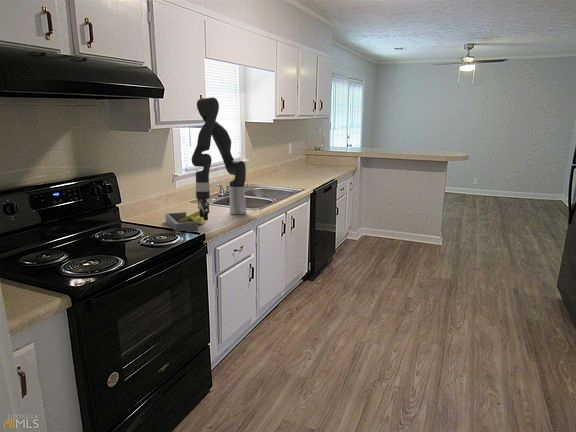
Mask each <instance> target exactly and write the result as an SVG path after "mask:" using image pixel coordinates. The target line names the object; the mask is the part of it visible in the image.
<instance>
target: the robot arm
mask: <svg viewBox="0 0 576 432" xmlns="http://www.w3.org/2000/svg"><path fill="white" fill-rule="evenodd" d="M196 109H197V111H198V113H199V115H200V116H201V118H202V120H203V122H204V124H203V125H202V127H201V128H200V130H199V132H198V136H197V143H196V146H195V149H194V151H193V153H192V156H191V163H192V165H193V166H194V167H199V168H200V167H203V168H202V170H198V171H196V172H195V199H196V200H197V209H198V211H200V217H204V220H206V221H209V213H210V202H208V200H209V199H210V197H211V191H210V190H211V189H210V187H211V186H210V170H211V165H212V156H211V155H210V153H203V152H206V151H207V152H208V151H209V150H210V149H211V143H212V142H211V141H212V139H213V142H214V143H215V145H216V148H217V150H218V152H219V153H220V156H221V158H222V161H223V163H224V167H225V169H226V172H227V173H228V174H230V175H231V176H234V179H233V180H230V181H229V214H232V215H243V214H247V199H246V197H245V195H246V194H245V183H246V178H247V177H246V176H247V175H246V174H247V173H246V172H247V167H246V163H245V162H244V161H243V160H236V159H234V157H233V155H232V152H231V149H232V139H231V137H230V135H229V132H228V131H227V129H226V128H225V127H224V126H223V125H221V123H219V122H218V121H217V117H218V114H219V109H220V103H219V101H218V99H217V97H213V96H212V97H210V96H209V97H203V98H200V99H198V100H197V102H196Z"/></svg>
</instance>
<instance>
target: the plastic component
mask: <svg viewBox="0 0 576 432" xmlns="http://www.w3.org/2000/svg"><path fill="white" fill-rule="evenodd" d="M196 221H197V222H198V225H202V224H205V223H206V222H207V220H204V217H200V211H199V210H198V211H196V212H193V213H191V214H189V215H186V217H184V218H182V219H180V220H178V222H177V223H186V222H196Z"/></svg>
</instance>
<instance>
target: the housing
mask: <svg viewBox="0 0 576 432" xmlns="http://www.w3.org/2000/svg"><path fill="white" fill-rule="evenodd" d="M164 215H165V223H166V224H167V226H169V228H170V229H171V230H172V229H173V230H175V231H176V232H179V231H186V232H185V233H192V232H198V231H199V224H198V222H197V221H196V222H193V221H191V222H186V223H179V222H178V220H180V219H182V218H184V217H186V216H187V212H186V211H183V212H181V211H180V212H170V213H167V212H166V213H165V214H164ZM173 230H172V231H173Z"/></svg>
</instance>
